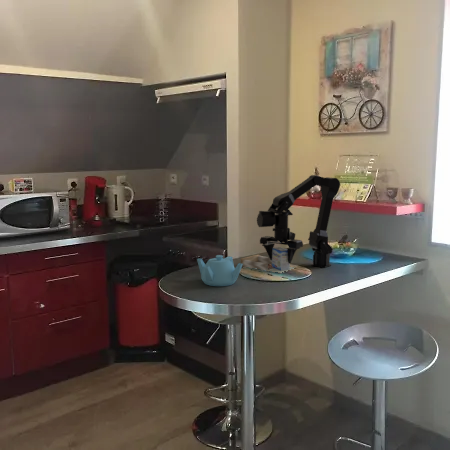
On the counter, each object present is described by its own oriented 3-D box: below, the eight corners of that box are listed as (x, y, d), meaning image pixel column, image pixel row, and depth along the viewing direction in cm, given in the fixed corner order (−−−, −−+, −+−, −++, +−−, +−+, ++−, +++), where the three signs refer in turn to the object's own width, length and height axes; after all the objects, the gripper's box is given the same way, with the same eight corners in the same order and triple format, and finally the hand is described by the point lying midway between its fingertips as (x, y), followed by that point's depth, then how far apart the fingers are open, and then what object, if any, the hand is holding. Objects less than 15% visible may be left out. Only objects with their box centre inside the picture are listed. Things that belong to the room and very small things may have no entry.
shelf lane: (282, 266, 229) (282, 258, 229) (266, 271, 220) (266, 263, 219) (257, 261, 238) (257, 254, 237) (240, 266, 228) (240, 258, 228)
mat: (295, 268, 224) (295, 267, 224) (280, 273, 215) (280, 272, 215) (282, 266, 229) (282, 265, 229) (266, 271, 220) (266, 270, 220)
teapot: (243, 286, 195) (244, 258, 193) (205, 289, 191) (205, 260, 190) (232, 277, 210) (233, 251, 208) (196, 279, 206) (196, 252, 204)
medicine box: (271, 267, 225) (271, 247, 224) (280, 266, 227) (280, 247, 226) (281, 271, 218) (281, 250, 217) (289, 270, 220) (290, 250, 219)
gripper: (309, 225, 220) (309, 261, 222) (273, 222, 232) (273, 256, 234) (296, 228, 211) (295, 265, 214) (259, 224, 223) (258, 260, 225)
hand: (280, 261), depth 222 cm, fingers open, 9 cm apart
